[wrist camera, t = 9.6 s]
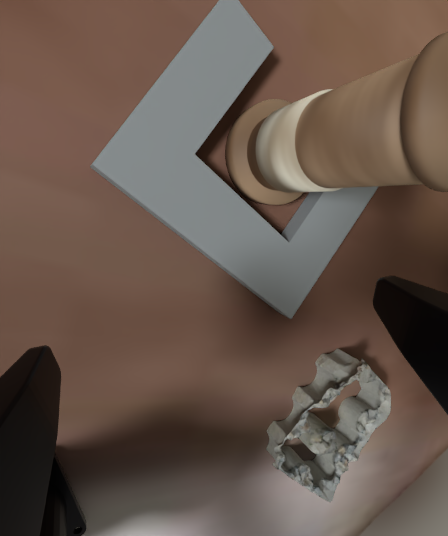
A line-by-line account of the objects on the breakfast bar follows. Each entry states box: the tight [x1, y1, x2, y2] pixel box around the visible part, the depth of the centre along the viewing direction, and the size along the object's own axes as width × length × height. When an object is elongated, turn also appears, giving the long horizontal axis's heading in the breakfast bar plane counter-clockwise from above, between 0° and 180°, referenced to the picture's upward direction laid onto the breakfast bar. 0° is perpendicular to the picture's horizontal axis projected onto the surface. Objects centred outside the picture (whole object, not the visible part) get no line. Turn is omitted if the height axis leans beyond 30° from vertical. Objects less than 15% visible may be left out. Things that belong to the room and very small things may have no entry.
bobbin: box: [225, 32, 448, 205], centre depth 17 cm, size 6×6×13 cm
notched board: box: [90, 0, 379, 319], centre depth 22 cm, size 12×16×2 cm
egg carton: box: [266, 348, 391, 502], centre depth 27 cm, size 11×8×4 cm
